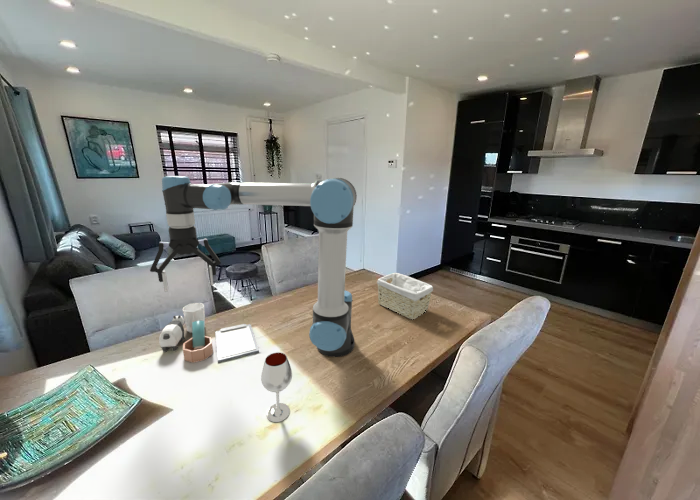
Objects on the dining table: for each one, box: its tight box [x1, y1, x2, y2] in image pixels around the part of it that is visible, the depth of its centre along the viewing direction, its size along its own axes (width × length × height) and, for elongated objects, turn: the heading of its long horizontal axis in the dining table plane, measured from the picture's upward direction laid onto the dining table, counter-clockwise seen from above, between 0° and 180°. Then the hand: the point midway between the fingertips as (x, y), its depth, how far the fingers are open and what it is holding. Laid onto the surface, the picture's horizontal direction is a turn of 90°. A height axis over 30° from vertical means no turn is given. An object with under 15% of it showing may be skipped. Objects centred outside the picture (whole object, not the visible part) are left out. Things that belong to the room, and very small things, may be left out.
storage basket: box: [376, 272, 434, 321], centre depth 141 cm, size 24×16×15 cm
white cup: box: [182, 302, 206, 334], centre depth 117 cm, size 8×8×10 cm
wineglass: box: [260, 351, 293, 423], centre depth 77 cm, size 8×8×18 cm
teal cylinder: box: [191, 321, 206, 350], centre depth 103 cm, size 4×4×11 cm
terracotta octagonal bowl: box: [182, 335, 214, 363], centre depth 102 cm, size 9×9×4 cm
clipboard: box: [214, 323, 260, 363], centre depth 110 cm, size 20×14×2 cm
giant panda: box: [158, 315, 186, 353], centre depth 108 cm, size 15×6×10 cm, turn 10°
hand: (190, 287), depth 95 cm, fingers open, 13 cm apart
